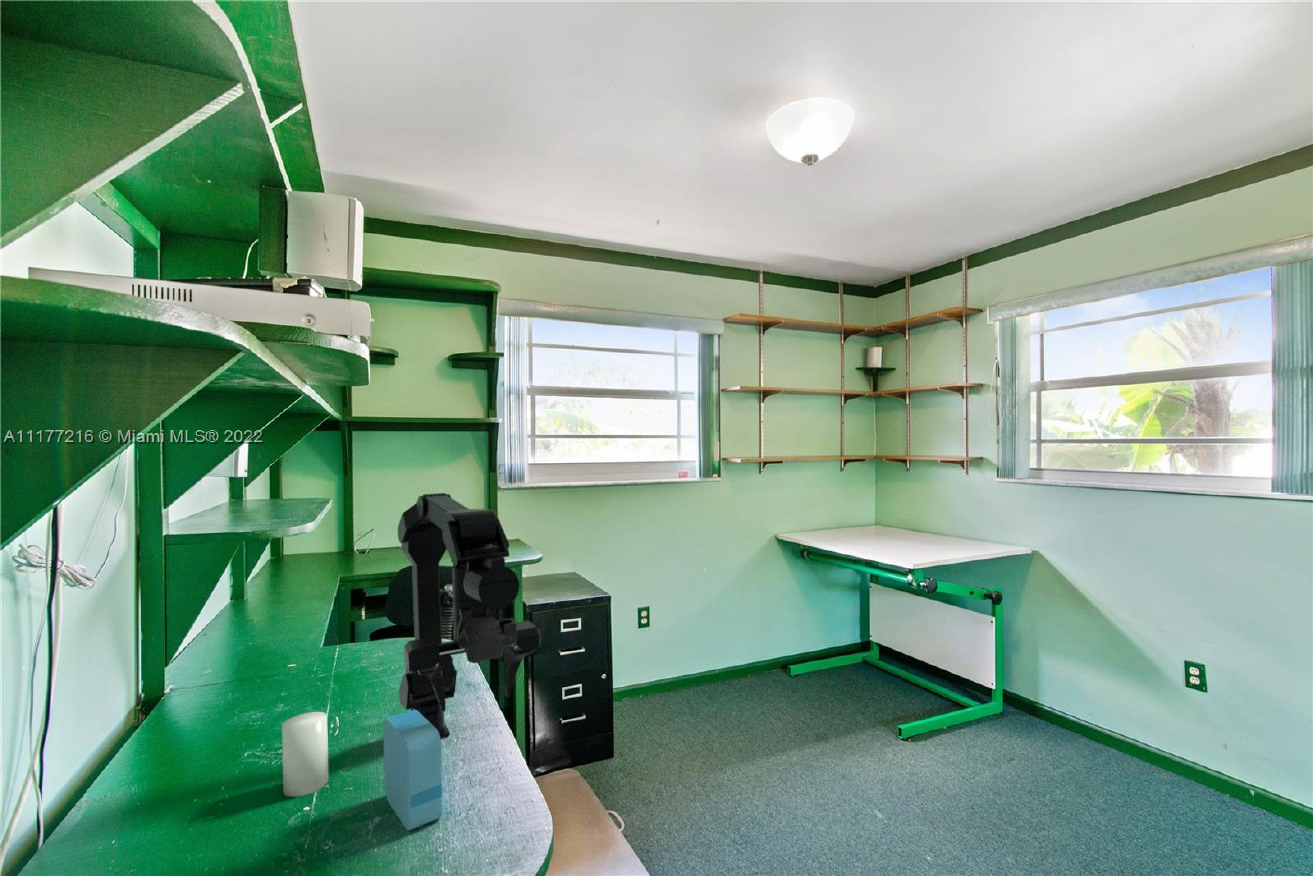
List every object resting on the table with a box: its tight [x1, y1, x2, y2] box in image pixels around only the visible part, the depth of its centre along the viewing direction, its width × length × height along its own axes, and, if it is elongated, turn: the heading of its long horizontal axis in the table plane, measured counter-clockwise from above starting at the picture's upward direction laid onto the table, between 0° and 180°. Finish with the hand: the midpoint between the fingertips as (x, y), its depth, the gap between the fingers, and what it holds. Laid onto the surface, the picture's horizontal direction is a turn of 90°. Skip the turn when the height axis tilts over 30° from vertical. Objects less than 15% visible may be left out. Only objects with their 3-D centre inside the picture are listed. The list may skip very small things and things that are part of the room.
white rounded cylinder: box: [281, 711, 330, 798], centre depth 92 cm, size 6×6×10 cm
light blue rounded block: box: [382, 710, 444, 831], centre depth 84 cm, size 12×4×12 cm, turn 39°
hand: (476, 703), depth 87 cm, fingers open, 9 cm apart
